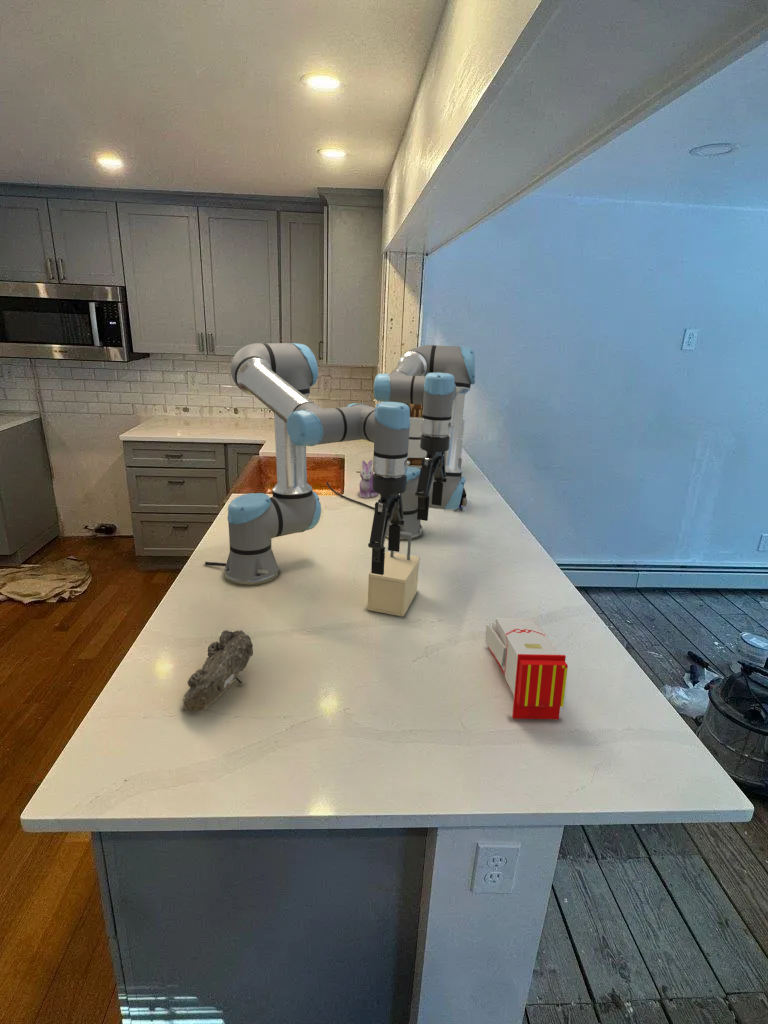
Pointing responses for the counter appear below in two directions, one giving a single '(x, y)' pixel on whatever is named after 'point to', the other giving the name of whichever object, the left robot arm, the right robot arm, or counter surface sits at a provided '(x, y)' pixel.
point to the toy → (529, 667)
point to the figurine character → (463, 500)
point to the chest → (392, 594)
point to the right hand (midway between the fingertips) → (429, 512)
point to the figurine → (367, 480)
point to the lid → (398, 564)
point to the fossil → (219, 669)
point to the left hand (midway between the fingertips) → (385, 561)
